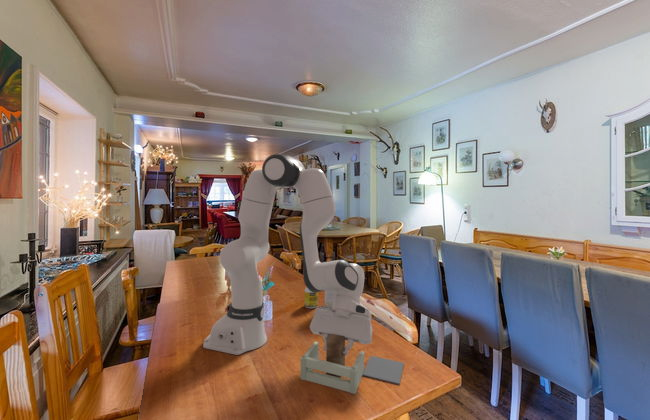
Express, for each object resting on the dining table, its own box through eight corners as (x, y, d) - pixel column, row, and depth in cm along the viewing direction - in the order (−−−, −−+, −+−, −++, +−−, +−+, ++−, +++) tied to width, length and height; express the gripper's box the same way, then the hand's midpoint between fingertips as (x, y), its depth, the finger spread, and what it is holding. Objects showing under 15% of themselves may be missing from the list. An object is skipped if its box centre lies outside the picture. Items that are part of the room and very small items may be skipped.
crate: (300, 379, 85) (300, 357, 85) (314, 360, 95) (314, 341, 94) (355, 394, 79) (355, 371, 79) (364, 372, 89) (364, 352, 88)
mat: (362, 375, 87) (362, 374, 87) (370, 356, 97) (370, 355, 97) (399, 384, 83) (399, 383, 83) (404, 364, 93) (404, 362, 93)
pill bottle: (306, 309, 136) (306, 285, 136) (303, 304, 143) (303, 281, 142) (319, 308, 138) (319, 284, 137) (316, 303, 144) (316, 280, 144)
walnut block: (326, 374, 88) (326, 339, 87) (331, 366, 92) (331, 332, 91) (340, 377, 86) (340, 342, 85) (344, 369, 90) (345, 335, 90)
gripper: (314, 300, 98) (301, 342, 90) (373, 310, 91) (365, 356, 82) (319, 308, 102) (307, 349, 94) (376, 318, 95) (369, 363, 86)
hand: (335, 352), depth 88 cm, fingers closed on walnut block, 4 cm apart
